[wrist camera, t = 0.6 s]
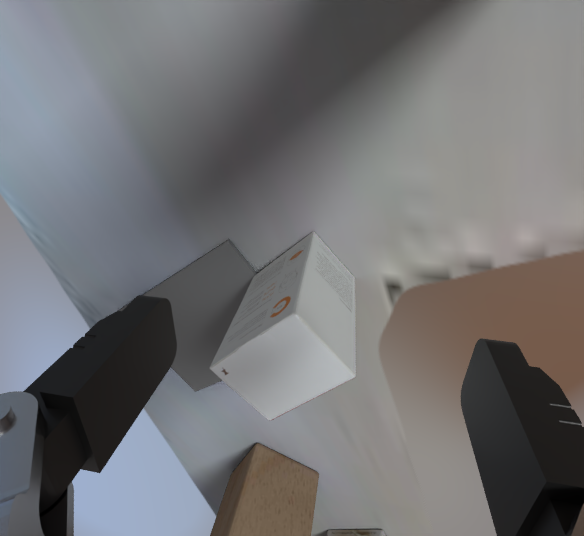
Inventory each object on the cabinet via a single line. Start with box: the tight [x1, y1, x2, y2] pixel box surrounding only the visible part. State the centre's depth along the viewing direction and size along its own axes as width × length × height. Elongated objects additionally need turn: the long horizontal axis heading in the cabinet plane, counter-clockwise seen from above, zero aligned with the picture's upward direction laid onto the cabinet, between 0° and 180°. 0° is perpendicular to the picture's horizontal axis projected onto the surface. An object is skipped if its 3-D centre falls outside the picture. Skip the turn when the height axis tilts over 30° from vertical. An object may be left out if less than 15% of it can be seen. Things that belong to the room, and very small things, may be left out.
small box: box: [210, 232, 356, 421], centre depth 30 cm, size 8×6×13 cm
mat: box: [118, 239, 257, 392], centre depth 41 cm, size 18×14×1 cm
